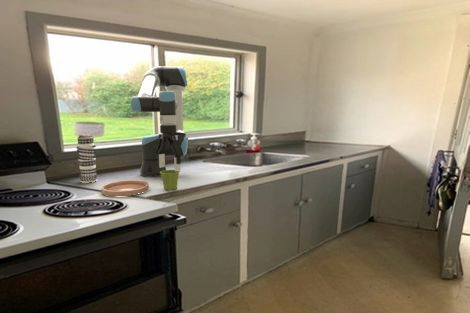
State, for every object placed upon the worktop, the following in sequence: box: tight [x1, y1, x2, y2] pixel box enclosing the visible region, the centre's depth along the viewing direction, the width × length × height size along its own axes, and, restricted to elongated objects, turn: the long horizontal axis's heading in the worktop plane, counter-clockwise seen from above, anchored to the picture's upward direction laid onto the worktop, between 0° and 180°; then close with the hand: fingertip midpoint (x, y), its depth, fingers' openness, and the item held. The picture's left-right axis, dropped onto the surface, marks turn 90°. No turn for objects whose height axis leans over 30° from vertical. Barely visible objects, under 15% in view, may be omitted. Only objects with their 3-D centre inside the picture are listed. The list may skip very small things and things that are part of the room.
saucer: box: [100, 179, 150, 197], centre depth 144 cm, size 21×21×2 cm
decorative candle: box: [76, 133, 98, 184], centre depth 160 cm, size 9×9×25 cm
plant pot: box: [160, 169, 181, 191], centre depth 146 cm, size 9×9×9 cm
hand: (169, 169), depth 145 cm, fingers open, 13 cm apart
